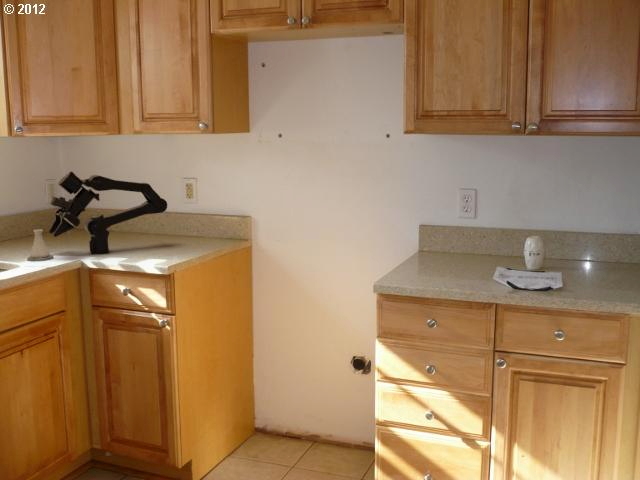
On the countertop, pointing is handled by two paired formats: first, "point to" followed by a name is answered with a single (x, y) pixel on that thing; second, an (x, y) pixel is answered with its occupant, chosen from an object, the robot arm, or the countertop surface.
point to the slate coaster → (40, 258)
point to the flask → (39, 246)
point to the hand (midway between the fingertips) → (52, 234)
